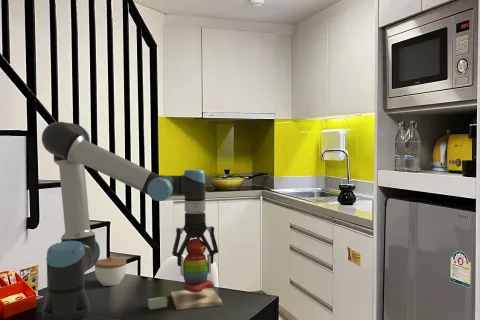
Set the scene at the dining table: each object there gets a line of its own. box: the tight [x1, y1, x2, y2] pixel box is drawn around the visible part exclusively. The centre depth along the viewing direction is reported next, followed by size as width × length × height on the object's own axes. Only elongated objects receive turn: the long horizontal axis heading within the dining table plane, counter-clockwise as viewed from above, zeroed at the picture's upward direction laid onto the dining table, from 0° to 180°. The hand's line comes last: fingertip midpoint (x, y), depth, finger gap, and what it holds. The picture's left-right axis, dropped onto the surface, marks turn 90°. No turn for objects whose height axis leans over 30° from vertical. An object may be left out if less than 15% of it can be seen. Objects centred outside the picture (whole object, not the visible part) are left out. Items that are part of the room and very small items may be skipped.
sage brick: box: [147, 295, 168, 310], centre depth 159 cm, size 6×3×3 cm, turn 116°
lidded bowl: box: [94, 256, 127, 287], centre depth 188 cm, size 13×13×11 cm
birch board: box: [170, 287, 223, 311], centre depth 166 cm, size 16×16×2 cm
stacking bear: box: [182, 237, 215, 293], centre depth 166 cm, size 11×10×18 cm
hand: (195, 273), depth 166 cm, fingers closed on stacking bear, 9 cm apart
